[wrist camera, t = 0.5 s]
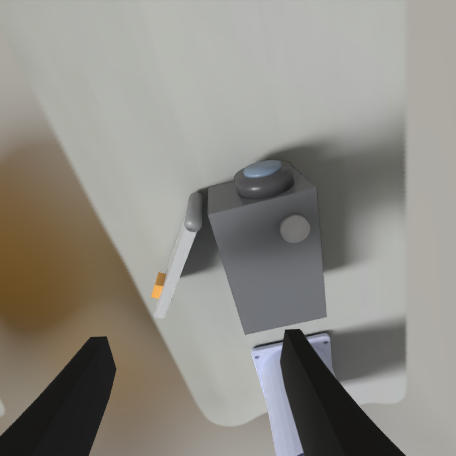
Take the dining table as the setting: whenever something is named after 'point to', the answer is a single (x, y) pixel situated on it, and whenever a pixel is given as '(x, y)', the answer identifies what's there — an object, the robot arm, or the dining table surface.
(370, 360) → the dining table surface
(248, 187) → the camera body
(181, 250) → the side door
